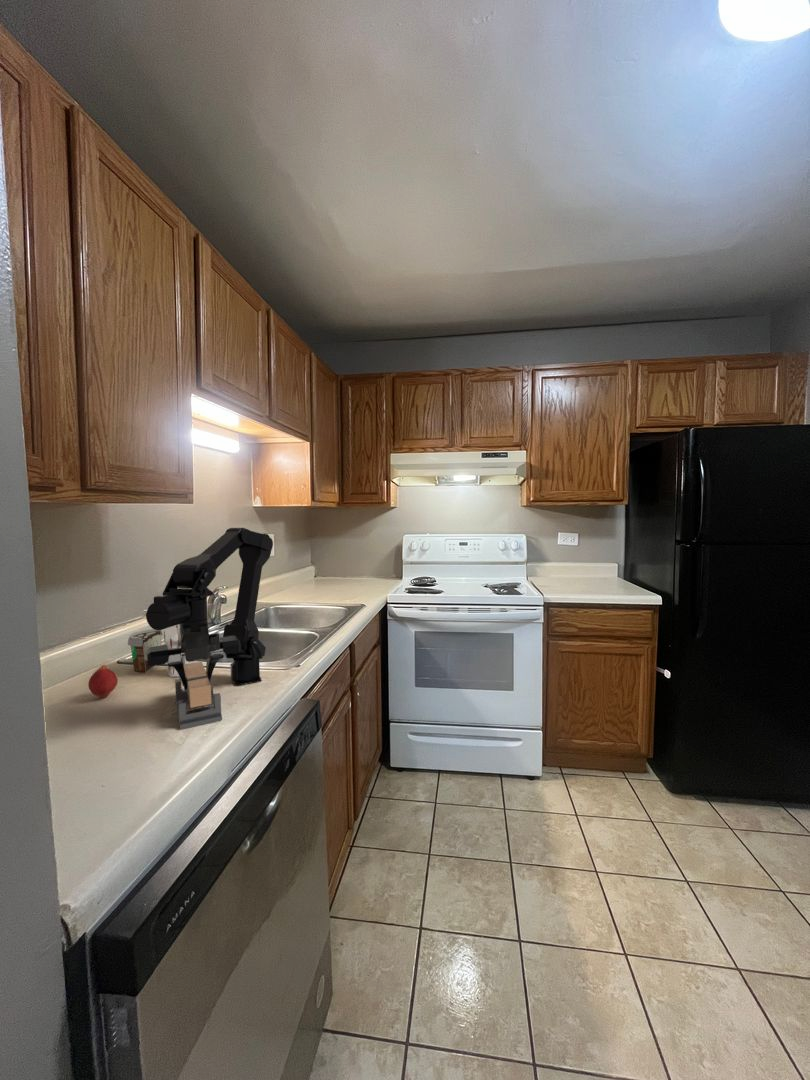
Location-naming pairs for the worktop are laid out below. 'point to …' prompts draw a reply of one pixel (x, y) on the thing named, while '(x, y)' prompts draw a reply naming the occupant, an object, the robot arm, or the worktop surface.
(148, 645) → the food container
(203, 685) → the banded tan post
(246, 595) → the robot arm
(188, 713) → the collar stand
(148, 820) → the worktop surface
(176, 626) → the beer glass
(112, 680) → the onion
